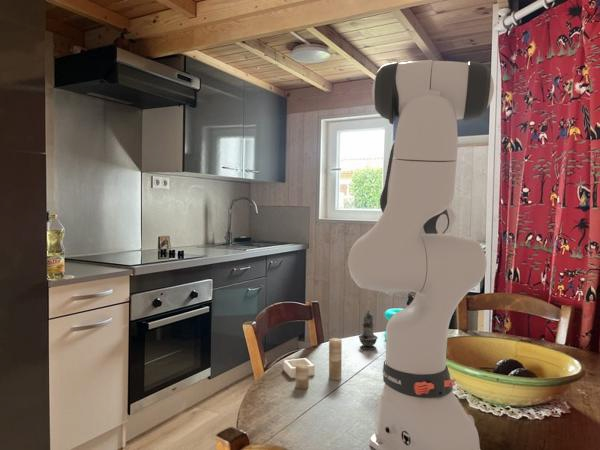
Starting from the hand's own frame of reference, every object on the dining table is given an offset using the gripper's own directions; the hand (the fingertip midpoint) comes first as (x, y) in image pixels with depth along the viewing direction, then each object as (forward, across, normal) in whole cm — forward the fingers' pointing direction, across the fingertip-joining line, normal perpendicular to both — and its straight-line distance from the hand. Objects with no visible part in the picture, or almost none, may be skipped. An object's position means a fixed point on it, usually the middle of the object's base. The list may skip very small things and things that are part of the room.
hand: (378, 290), depth 119 cm
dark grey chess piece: (+11, -19, +21) cm, 30 cm away
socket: (+30, -6, +1) cm, 30 cm away
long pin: (+24, +1, +6) cm, 25 cm away
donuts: (+1, -23, +31) cm, 39 cm away
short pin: (+31, +3, -1) cm, 32 cm away
